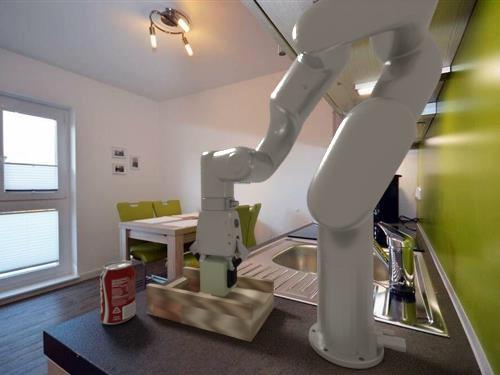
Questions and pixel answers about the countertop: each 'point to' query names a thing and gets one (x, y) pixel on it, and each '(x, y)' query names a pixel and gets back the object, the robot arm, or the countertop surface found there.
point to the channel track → (214, 304)
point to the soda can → (117, 292)
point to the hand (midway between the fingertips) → (218, 282)
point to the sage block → (214, 276)
